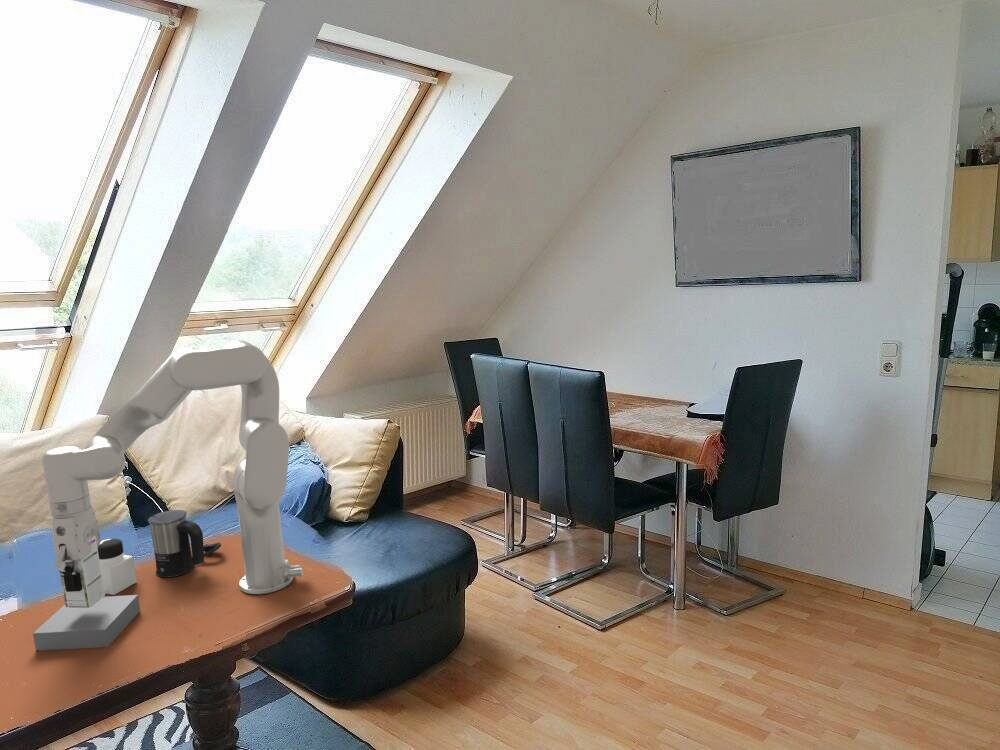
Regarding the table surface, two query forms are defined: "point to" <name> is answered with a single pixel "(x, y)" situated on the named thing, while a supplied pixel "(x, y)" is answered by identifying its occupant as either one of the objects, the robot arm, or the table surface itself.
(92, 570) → the syrup box
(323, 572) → the table surface
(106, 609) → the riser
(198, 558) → the milk frother
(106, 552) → the medicine bottle
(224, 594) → the table surface
